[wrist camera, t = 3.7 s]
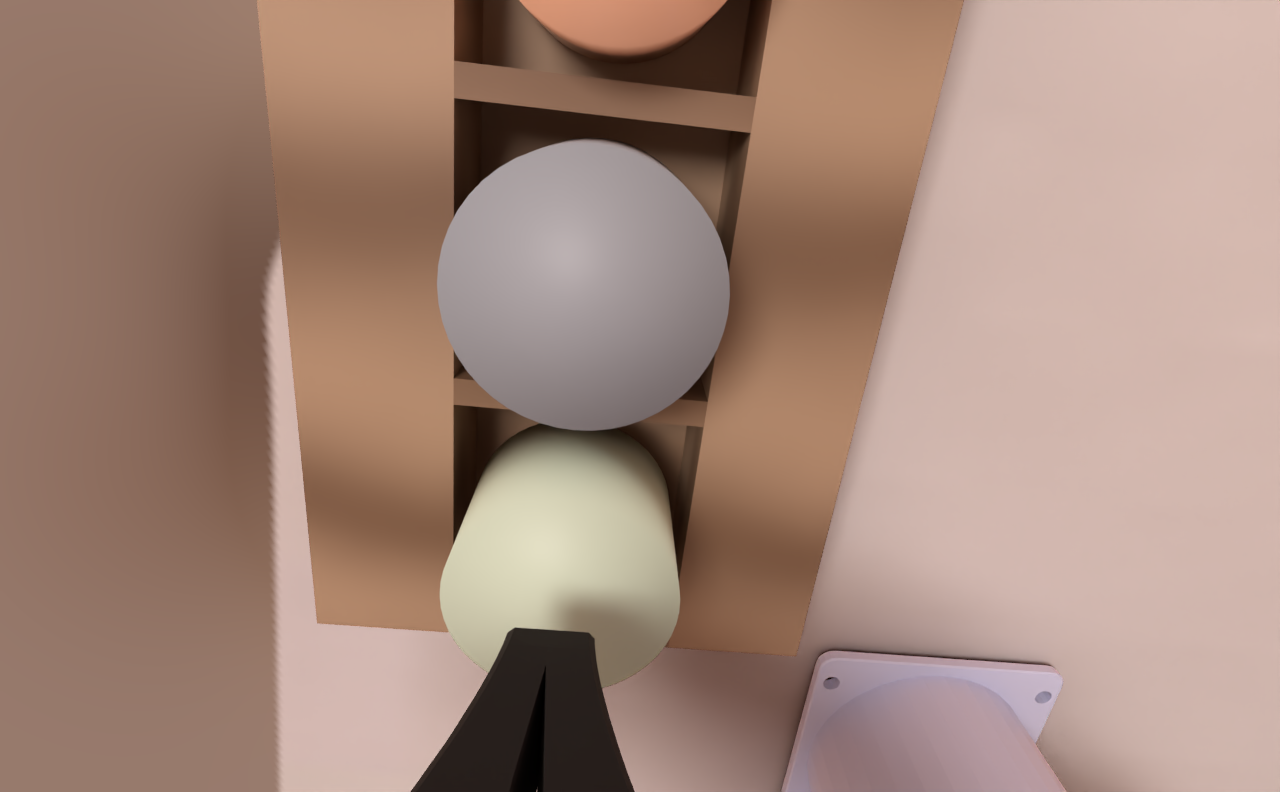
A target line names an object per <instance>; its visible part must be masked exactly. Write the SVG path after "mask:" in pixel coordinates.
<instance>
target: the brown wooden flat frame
mask: <svg viewBox="0 0 1280 792" xmlns="http://www.w3.org/2000/svg"><path fill="white" fill-rule="evenodd" d="M963 2H964V0H727V1H726V2H725V4H724V5H723V6H722V7H721V8H720V9H719V11H718V12H717V13H716V14H715V15H714V16H713V18H712V19H711V20H710V21H709V22H708V23H707V25H706V26H705V27H704V28H703V29H702V30H701V31H700V32H699V33H698V34H697V35H696V36H695V37H693V38H692V39H691V40H689V41H688V42H687V43H686V44H684V45H683V46H681V47H680V48H678V49H676V50H674V51H673V52H671V53H669V54H667V55H664V56H662V57H659V58H657V59H654V60H650V61H646V62H642V63H632V64H615V63H607V62H602V61H597V60H594V59H591V58H588V57H586V56H583V55H581V54H579V53H577V52H575V51H573V50H571V49H569V48H568V47H566V46H565V45H563V44H562V43H560V42H559V41H558V40H556V39H555V38H554V37H553V36H552V35H551V34H550V33H548V32H547V31H546V30H545V29H544V28H543V27H542V26H541V25H540V23H539V22H538V21H537V20H536V19H535V18H534V17H533V16H532V14H531V13H530V12H529V11H528V10H527V9H526V8H525V6H524V5H523V4H522V3H521V2H520V1H519V0H257V6H258V16H259V27H260V37H261V47H262V58H263V68H264V78H265V88H266V99H267V110H268V120H269V130H270V141H271V151H272V161H273V172H274V182H275V192H276V203H277V212H278V223H279V234H280V244H281V254H282V265H283V275H284V285H285V295H286V306H287V316H288V326H289V337H290V347H291V357H292V368H293V378H294V388H295V399H296V409H297V419H298V430H299V440H300V450H301V461H302V471H303V481H304V492H305V502H306V512H307V523H308V533H309V543H310V554H311V564H312V574H313V585H314V595H315V605H316V616H317V623H321V624H335V625H350V626H364V627H379V628H393V629H408V630H422V631H437V632H449V631H448V628H447V626H446V624H445V621H444V618H443V614H442V611H441V605H440V582H441V578H442V574H443V570H444V567H445V565H446V562H447V560H448V557H449V555H450V552H451V550H452V547H453V545H454V542H455V540H456V537H457V535H458V532H459V530H460V527H461V525H462V522H463V520H464V517H465V515H466V512H467V510H468V507H469V505H470V502H471V500H472V498H473V495H474V493H475V490H476V488H477V485H478V483H479V480H480V478H481V475H482V473H483V471H484V468H485V466H486V464H487V463H488V461H489V459H490V458H491V456H492V455H493V454H494V453H495V452H496V450H497V449H498V448H499V447H500V446H501V445H502V444H503V443H504V442H506V441H507V440H508V439H509V438H511V437H512V436H514V435H515V434H517V433H518V432H520V431H522V430H524V429H526V428H528V427H531V426H534V425H537V424H539V423H538V422H536V421H533V420H531V419H528V418H526V417H523V416H521V415H520V414H518V413H516V412H514V411H512V410H510V409H509V408H507V407H505V406H504V405H503V404H501V403H500V402H498V401H497V400H496V399H494V398H493V397H492V396H490V395H489V394H488V393H487V392H486V391H485V390H484V389H483V388H482V387H481V386H479V384H478V383H477V382H476V381H475V380H474V379H473V378H472V376H471V375H470V374H469V373H468V372H467V370H466V369H465V367H464V366H463V364H462V363H461V361H460V360H459V358H458V357H457V355H456V353H455V351H454V349H453V347H452V345H451V343H450V341H449V339H448V337H447V334H446V331H445V328H444V325H443V322H442V318H441V313H440V308H439V304H438V291H437V276H438V264H439V259H440V254H441V249H442V245H443V242H444V239H445V236H446V233H447V231H448V228H449V226H450V224H451V222H452V220H453V218H454V216H455V214H456V212H457V211H458V209H459V208H460V206H461V205H462V204H463V202H464V201H465V199H466V198H467V197H468V195H469V194H470V193H471V192H472V191H473V190H474V189H475V188H476V187H477V186H478V185H479V184H480V183H481V181H482V180H484V179H485V178H486V177H488V176H489V175H490V174H491V173H493V172H494V171H495V170H496V169H498V168H499V167H501V166H503V165H504V164H506V163H508V162H510V161H511V160H513V159H515V158H517V157H520V156H522V155H525V154H527V153H530V152H532V151H535V150H537V149H540V148H543V147H546V146H549V145H552V144H555V143H558V142H562V141H566V140H570V139H578V138H605V139H611V140H616V141H620V142H623V143H626V144H629V145H632V146H635V147H637V148H639V149H641V150H643V151H645V152H647V153H649V154H650V155H652V156H653V157H655V158H656V159H658V160H659V161H660V162H662V163H663V164H664V165H665V166H666V167H667V168H668V169H669V170H671V171H672V172H673V173H674V174H675V176H676V177H677V178H678V179H679V180H680V181H681V182H682V183H683V184H684V185H685V187H686V188H687V189H688V190H689V191H690V192H691V193H692V195H693V196H694V197H695V198H696V199H697V200H698V202H699V203H700V204H701V205H702V207H703V208H704V210H705V212H706V213H707V215H708V216H709V218H710V219H711V221H712V223H713V225H714V227H715V229H716V231H717V233H718V236H719V238H720V240H721V243H722V247H723V250H724V253H725V256H726V261H727V267H728V272H729V284H730V299H729V310H728V316H727V321H726V325H725V329H724V333H723V335H722V338H721V341H720V343H719V346H718V349H717V351H716V352H715V354H714V356H713V358H712V360H711V362H710V364H709V365H708V367H707V368H706V369H705V371H704V372H703V374H702V375H701V376H700V378H699V379H698V380H697V381H696V382H695V383H694V384H693V386H692V387H691V388H690V389H689V390H688V391H687V392H686V393H685V394H683V395H682V396H681V397H680V398H679V399H678V400H676V401H675V402H674V403H673V404H671V405H669V406H668V407H666V408H665V409H663V410H662V411H660V412H658V413H656V414H654V415H652V416H650V417H648V418H646V419H644V420H641V421H639V422H636V423H633V424H630V425H627V426H622V427H617V428H616V429H618V430H620V431H622V432H624V433H625V434H627V435H629V436H631V437H632V438H633V439H635V440H636V441H637V442H639V443H640V444H641V445H642V446H643V447H644V448H645V449H646V450H647V451H648V452H649V453H650V454H651V456H652V457H653V458H654V459H655V461H656V462H657V464H658V466H659V468H660V469H661V471H662V473H663V476H664V478H665V481H666V485H667V489H668V495H669V503H670V512H671V520H672V529H673V537H674V546H675V554H676V563H677V572H678V580H679V590H680V609H679V615H678V619H677V623H676V626H675V628H674V631H673V633H672V636H671V637H670V639H669V641H668V642H667V644H666V645H665V647H668V648H683V649H697V650H712V651H726V652H741V653H755V654H770V655H784V656H796V655H797V651H798V647H799V643H800V639H801V635H802V631H803V627H804V624H805V620H806V616H807V612H808V608H809V604H810V600H811V596H812V592H813V588H814V584H815V581H816V577H817V573H818V569H819V565H820V561H821V557H822V553H823V549H824V545H825V541H826V538H827V534H828V530H829V526H830V522H831V518H832V514H833V510H834V506H835V502H836V498H837V494H838V491H839V487H840V483H841V479H842V475H843V471H844V467H845V463H846V459H847V455H848V451H849V448H850V444H851V440H852V436H853V432H854V428H855V424H856V420H857V416H858V412H859V408H860V404H861V401H862V397H863V393H864V389H865V385H866V381H867V377H868V373H869V369H870V365H871V361H872V358H873V354H874V350H875V346H876V342H877V338H878V334H879V330H880V326H881V322H882V318H883V315H884V311H885V307H886V303H887V299H888V295H889V291H890V287H891V283H892V279H893V275H894V271H895V268H896V264H897V260H898V256H899V252H900V248H901V244H902V240H903V236H904V232H905V228H906V225H907V221H908V217H909V213H910V209H911V205H912V201H913V197H914V193H915V189H916V185H917V181H918V178H919V174H920V170H921V166H922V162H923V158H924V154H925V150H926V146H927V142H928V138H929V135H930V131H931V127H932V123H933V119H934V115H935V111H936V107H937V103H938V99H939V95H940V91H941V88H942V84H943V80H944V76H945V72H946V68H947V64H948V60H949V56H950V52H951V48H952V45H953V41H954V37H955V33H956V29H957V25H958V21H959V17H960V13H961V9H962V5H963Z"/></svg>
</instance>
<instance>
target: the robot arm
mask: <svg viewBox="0 0 1280 792" xmlns="http://www.w3.org/2000/svg"><path fill="white" fill-rule="evenodd" d="M829 677H834V678H832V679H829V680H825V679H827V678H829ZM1062 686H1063V678H1062V676H1061V675H1060V674H1059V672H1058V671H1057V670H1056V669H1055V668H1054V667H1052V666H1047V665H1033V664H1019V663H1005V662H990V661H976V660H962V659H947V658H933V657H919V656H904V655H890V654H876V653H861V652H847V651H828V652H826V653H823V654H822V655H821V656H820V657H819V658H818V660H817V662H816V665H815V669H814V672H813V676H812V680H811V683H810V687H809V691H808V694H807V698H806V702H805V705H804V709H803V713H802V716H801V720H800V724H799V728H798V731H797V735H796V739H795V742H794V746H793V750H792V753H791V757H790V761H789V764H788V768H787V772H786V775H785V779H784V783H783V786H782V790H781V792H1067V791H1066V790H1065V788H1064V787H1063V785H1062V784H1061V782H1060V781H1059V779H1058V778H1057V776H1056V775H1055V773H1054V772H1053V770H1052V769H1051V767H1050V766H1049V764H1048V763H1047V761H1046V760H1045V758H1044V756H1043V755H1042V753H1041V752H1040V750H1039V749H1038V747H1037V746H1036V742H1037V740H1038V738H1039V735H1040V733H1041V731H1042V729H1043V727H1044V725H1045V722H1046V720H1047V718H1048V716H1049V714H1050V712H1051V710H1052V707H1053V705H1054V703H1055V701H1056V699H1057V697H1058V694H1059V692H1060V690H1061V688H1062ZM536 791H537V792H634V789H633V786H632V784H631V781H630V779H629V776H628V773H627V770H626V768H625V765H624V762H623V759H622V756H621V753H620V750H619V747H618V744H617V740H616V737H615V734H614V731H613V728H612V724H611V721H610V718H609V714H608V711H607V707H606V703H605V699H604V695H603V691H602V687H601V682H600V677H599V672H598V667H597V661H596V652H595V638H594V637H593V636H592V635H591V634H590V633H589V632H575V631H560V630H545V629H531V628H516V627H515V628H513V629H512V630H510V631H509V632H508V633H507V635H506V638H505V640H504V643H503V645H502V647H501V649H500V651H499V653H498V656H497V658H496V660H495V662H494V664H493V666H492V667H491V669H490V671H489V673H488V675H487V677H486V678H485V680H484V682H483V684H482V685H481V687H480V689H479V691H478V692H477V694H476V696H475V697H474V699H473V701H472V702H471V704H470V705H469V707H468V709H467V710H466V712H465V713H464V715H463V717H462V718H461V720H460V721H459V723H458V725H457V726H456V728H455V729H454V731H453V732H452V734H451V735H450V737H449V738H448V740H447V741H446V743H445V744H444V746H443V747H442V749H441V750H440V751H439V753H438V754H437V756H436V757H435V758H434V760H433V761H432V763H431V764H430V765H429V767H428V768H427V770H426V771H425V772H424V774H423V775H422V777H421V778H420V780H419V781H418V782H417V784H416V785H415V786H414V788H413V789H412V790H411V792H536Z"/></svg>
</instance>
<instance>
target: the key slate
mask: <svg viewBox="0 0 1280 792" xmlns="http://www.w3.org/2000/svg"><path fill="white" fill-rule="evenodd" d="M437 291H438V304H439V308H440V313H441V318H442V322H443V325H444V328H445V331H446V334H447V337H448V339H449V341H450V343H451V345H452V347H453V349H454V351H455V353H456V355H457V357H458V358H459V360H460V361H461V363H462V364H463V366H464V367H465V369H466V370H467V372H468V373H469V374H470V375H471V376H472V378H473V379H474V380H475V381H476V382H477V383H478V384H479V386H481V387H482V388H483V389H484V390H485V391H486V392H487V393H488V394H489V395H490V396H492V397H493V398H494V399H496V400H497V401H498V402H500V403H501V404H503V405H504V406H505V407H507V408H509V409H510V410H512V411H514V412H516V413H518V414H520V415H521V416H523V417H526V418H528V419H531V420H533V421H536V422H538V423H541V424H545V425H549V426H552V427H556V428H562V429H569V430H582V431H595V430H606V429H613V428H617V427H622V426H627V425H630V424H633V423H636V422H639V421H641V420H644V419H646V418H648V417H650V416H652V415H654V414H656V413H658V412H660V411H662V410H663V409H665V408H666V407H668V406H669V405H671V404H673V403H674V402H675V401H676V400H678V399H679V398H680V397H681V396H682V395H683V394H685V393H686V392H687V391H688V390H689V389H690V388H691V387H692V386H693V384H694V383H695V382H696V381H697V380H698V379H699V378H700V376H701V375H702V374H703V372H704V371H705V369H706V368H707V367H708V365H709V364H710V362H711V360H712V358H713V356H714V354H715V352H716V351H717V349H718V346H719V343H720V341H721V338H722V335H723V333H724V329H725V325H726V321H727V316H728V310H729V299H730V284H729V272H728V267H727V261H726V256H725V253H724V250H723V247H722V243H721V240H720V238H719V236H718V233H717V231H716V229H715V227H714V225H713V223H712V221H711V219H710V218H709V216H708V215H707V213H706V212H705V210H704V208H703V207H702V205H701V204H700V203H699V202H698V200H697V199H696V198H695V197H694V196H693V195H692V193H691V192H690V191H689V190H688V189H687V188H686V187H685V185H684V184H683V183H682V182H681V181H680V180H679V179H678V178H677V177H676V176H675V174H674V173H673V172H672V171H671V170H669V169H668V168H667V167H666V166H665V165H664V164H663V163H662V162H660V161H659V160H658V159H656V158H655V157H653V156H652V155H650V154H649V153H647V152H645V151H643V150H641V149H639V148H637V147H635V146H632V145H629V144H626V143H623V142H620V141H616V140H611V139H605V138H578V139H570V140H566V141H562V142H558V143H555V144H552V145H549V146H546V147H543V148H540V149H537V150H535V151H532V152H530V153H527V154H525V155H522V156H520V157H517V158H515V159H513V160H511V161H510V162H508V163H506V164H504V165H503V166H501V167H499V168H498V169H496V170H495V171H494V172H493V173H491V174H490V175H489V176H488V177H486V178H485V179H484V180H482V181H481V183H480V184H479V185H478V186H477V187H476V188H475V189H474V190H473V191H472V192H471V193H470V194H469V195H468V197H467V198H466V199H465V201H464V202H463V204H462V205H461V206H460V208H459V209H458V211H457V212H456V214H455V216H454V218H453V220H452V222H451V224H450V226H449V228H448V231H447V233H446V236H445V239H444V242H443V245H442V249H441V254H440V259H439V264H438V276H437Z"/></svg>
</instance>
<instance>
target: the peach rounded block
mask: <svg viewBox="0 0 1280 792" xmlns="http://www.w3.org/2000/svg"><path fill="white" fill-rule="evenodd" d="M519 1H520V2H521V3H522V4H523V5H524V6H525V8H526V9H527V10H528V11H529V12H530V13H531V14H532V16H533V17H534V18H535V19H536V20H537V21H538V22H539V23H540V25H541V26H542V27H543V28H544V29H545V30H546V31H547V32H548V33H550V34H551V35H552V36H553V37H554V38H555V39H556V40H558V41H559V42H560V43H562V44H563V45H565V46H566V47H568V48H569V49H571V50H573V51H575V52H577V53H579V54H581V55H583V56H586V57H588V58H591V59H594V60H597V61H602V62H607V63H615V64H632V63H642V62H646V61H650V60H654V59H657V58H659V57H662V56H664V55H667V54H669V53H671V52H673V51H674V50H676V49H678V48H680V47H681V46H683V45H684V44H686V43H687V42H688V41H689V40H691V39H692V38H693V37H695V36H696V35H697V34H698V33H699V32H700V31H701V30H702V29H703V28H704V27H705V26H706V25H707V23H708V22H709V21H710V20H711V19H712V18H713V16H714V15H715V14H716V13H717V12H718V11H719V9H720V8H721V7H722V6H723V5H724V4H725V2H726V1H727V0H519Z"/></svg>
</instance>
